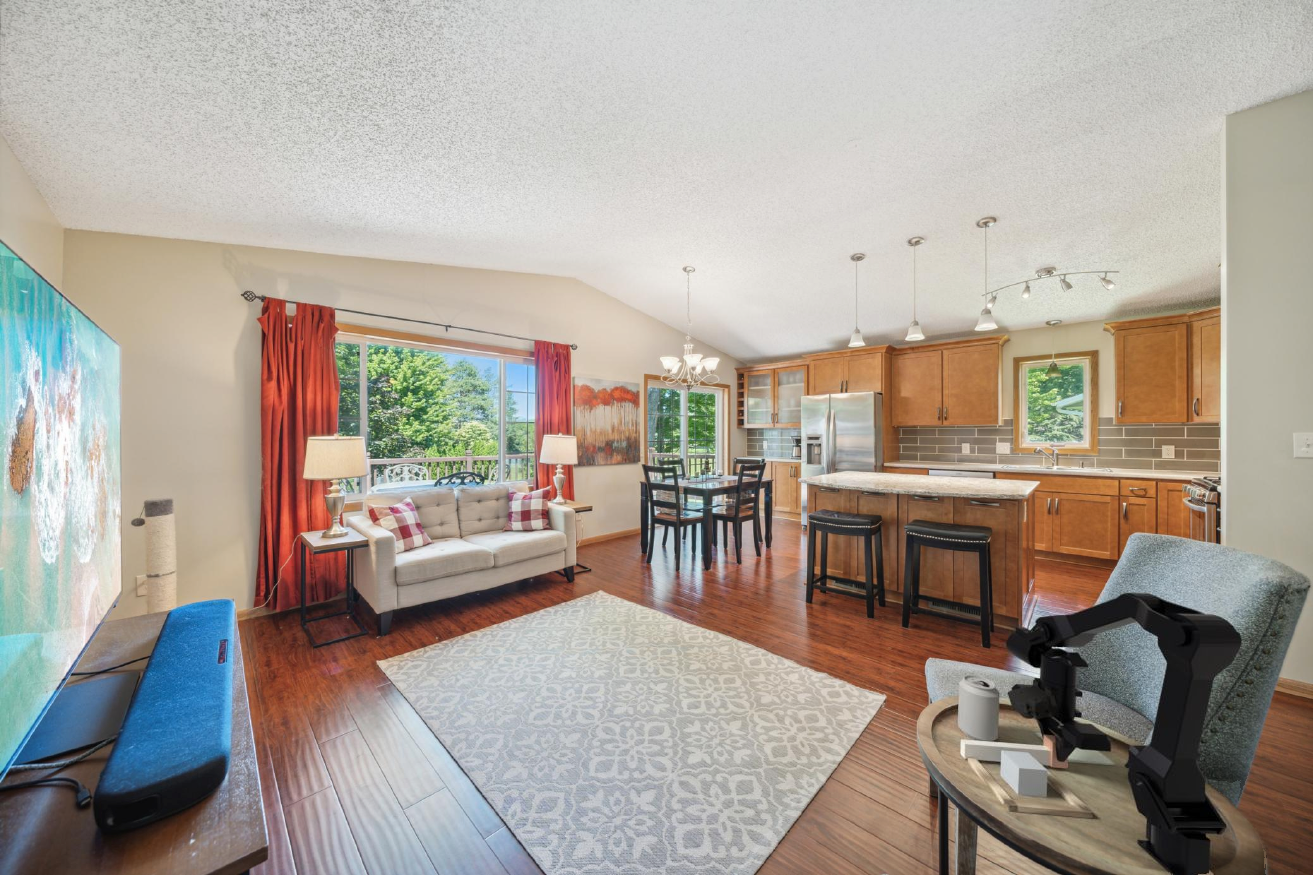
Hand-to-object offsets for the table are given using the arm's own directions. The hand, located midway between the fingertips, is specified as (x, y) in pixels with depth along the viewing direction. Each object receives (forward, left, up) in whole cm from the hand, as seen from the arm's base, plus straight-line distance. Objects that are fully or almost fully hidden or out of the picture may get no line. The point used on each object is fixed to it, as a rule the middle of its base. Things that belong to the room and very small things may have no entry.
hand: (1055, 756), depth 96 cm
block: (-7, +11, -2) cm, 13 cm away
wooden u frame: (-7, +11, -2) cm, 13 cm away
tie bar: (0, +8, -2) cm, 9 cm away
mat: (+6, -8, -2) cm, 11 cm away
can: (+9, +10, -2) cm, 14 cm away
